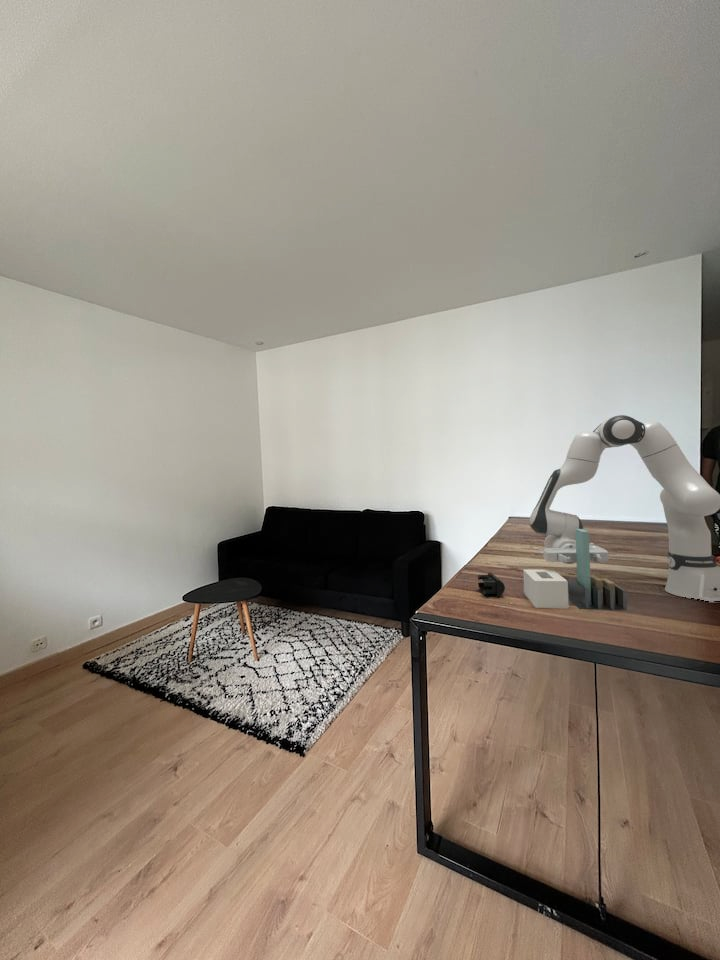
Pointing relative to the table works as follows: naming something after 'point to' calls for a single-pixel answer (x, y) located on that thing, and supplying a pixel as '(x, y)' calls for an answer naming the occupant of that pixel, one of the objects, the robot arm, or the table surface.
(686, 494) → the robot arm
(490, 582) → the end cap
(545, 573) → the holder
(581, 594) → the rack
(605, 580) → the offcut small
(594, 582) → the offcut tall
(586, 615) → the table surface
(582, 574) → the tall sheet
